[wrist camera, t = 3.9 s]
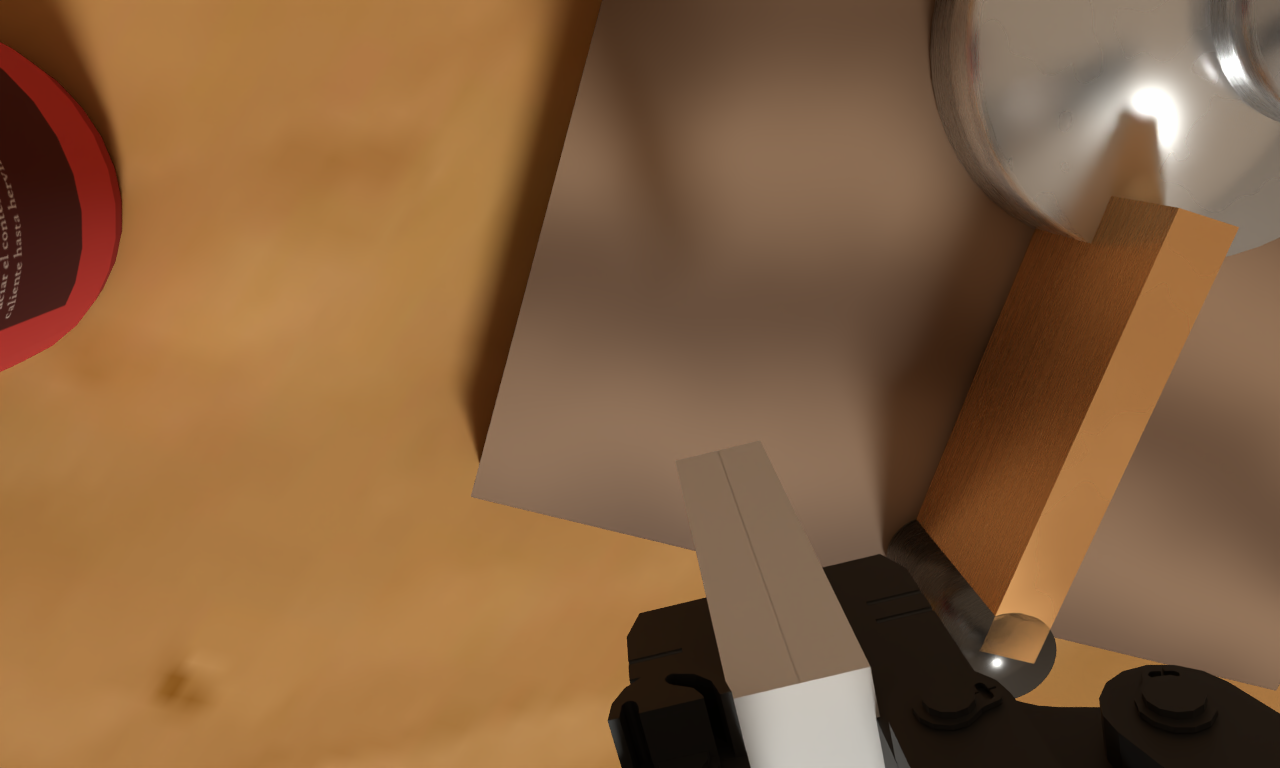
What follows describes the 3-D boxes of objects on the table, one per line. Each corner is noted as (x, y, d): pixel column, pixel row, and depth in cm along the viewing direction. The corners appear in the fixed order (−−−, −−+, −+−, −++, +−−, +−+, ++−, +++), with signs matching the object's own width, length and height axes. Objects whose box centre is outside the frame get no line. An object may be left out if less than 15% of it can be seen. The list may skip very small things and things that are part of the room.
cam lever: (1174, 649, 24) (1307, 772, 20) (739, 543, 22) (778, 652, 18) (1551, -83, 19) (1839, -138, 15) (1035, -290, 18) (1188, -420, 13)
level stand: (1225, 648, 27) (1284, 697, 24) (479, 465, 23) (469, 502, 21) (1716, -273, 20) (1854, -319, 18) (785, -691, 17) (815, -806, 15)
